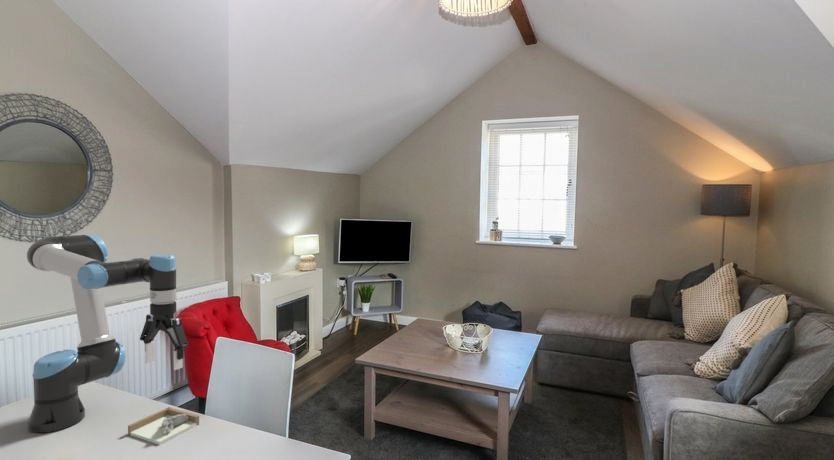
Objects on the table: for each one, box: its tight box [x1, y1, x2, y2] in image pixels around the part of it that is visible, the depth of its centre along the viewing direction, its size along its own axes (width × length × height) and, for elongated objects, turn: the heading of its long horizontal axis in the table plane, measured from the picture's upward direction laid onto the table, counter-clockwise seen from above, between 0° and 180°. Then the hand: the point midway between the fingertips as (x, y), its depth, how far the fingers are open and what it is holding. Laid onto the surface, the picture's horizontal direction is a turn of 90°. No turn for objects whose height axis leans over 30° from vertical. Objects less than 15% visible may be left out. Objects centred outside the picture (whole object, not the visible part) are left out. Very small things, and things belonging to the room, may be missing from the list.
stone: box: [159, 414, 189, 433], centre depth 147 cm, size 6×12×4 cm, turn 167°
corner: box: [127, 407, 200, 446], centre depth 148 cm, size 15×15×3 cm
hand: (164, 365), depth 145 cm, fingers open, 13 cm apart
